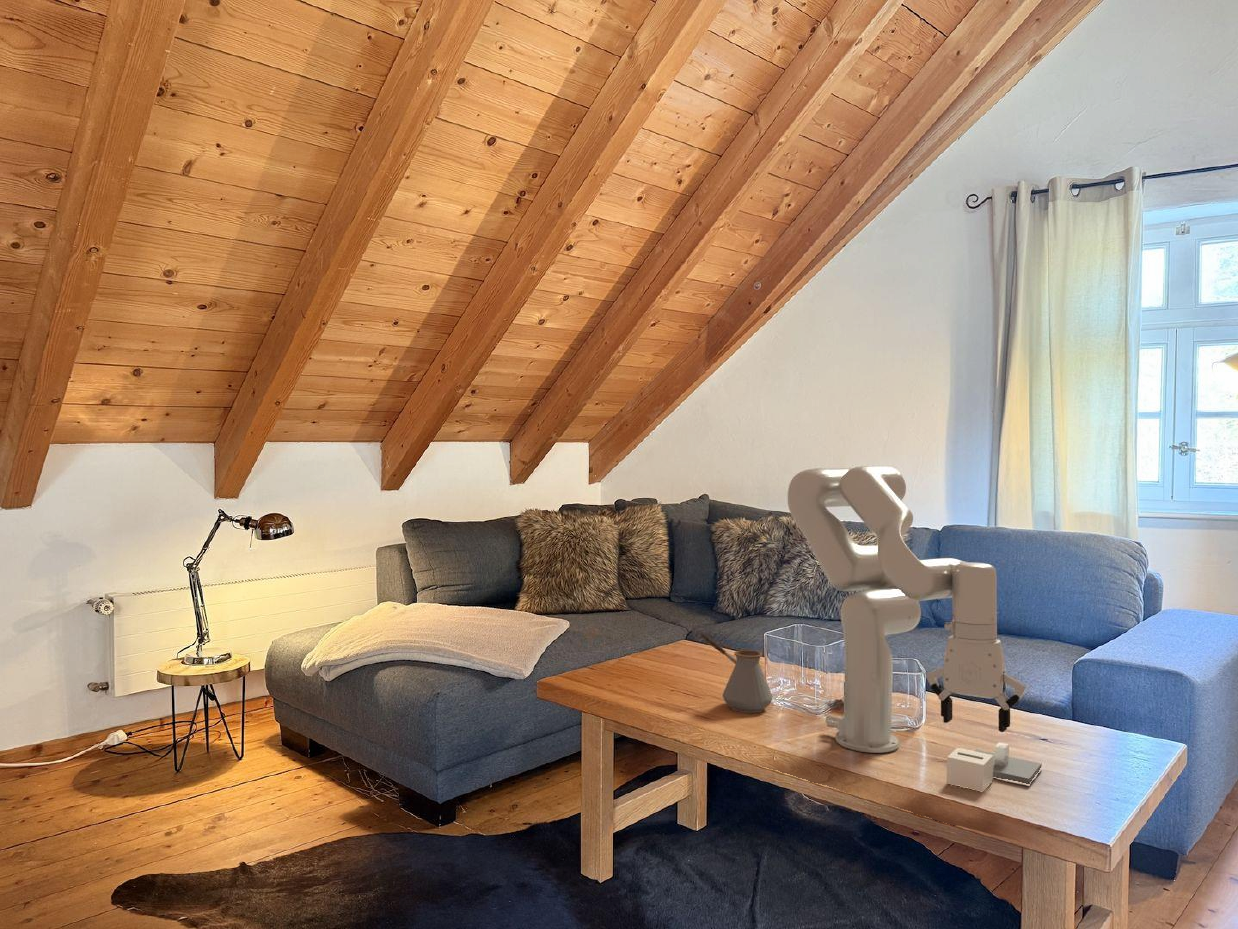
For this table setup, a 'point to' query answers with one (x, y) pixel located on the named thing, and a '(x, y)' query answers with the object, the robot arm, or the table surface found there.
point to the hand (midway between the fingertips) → (974, 725)
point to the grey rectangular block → (1001, 754)
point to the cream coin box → (969, 769)
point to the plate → (1015, 769)
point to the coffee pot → (745, 681)
